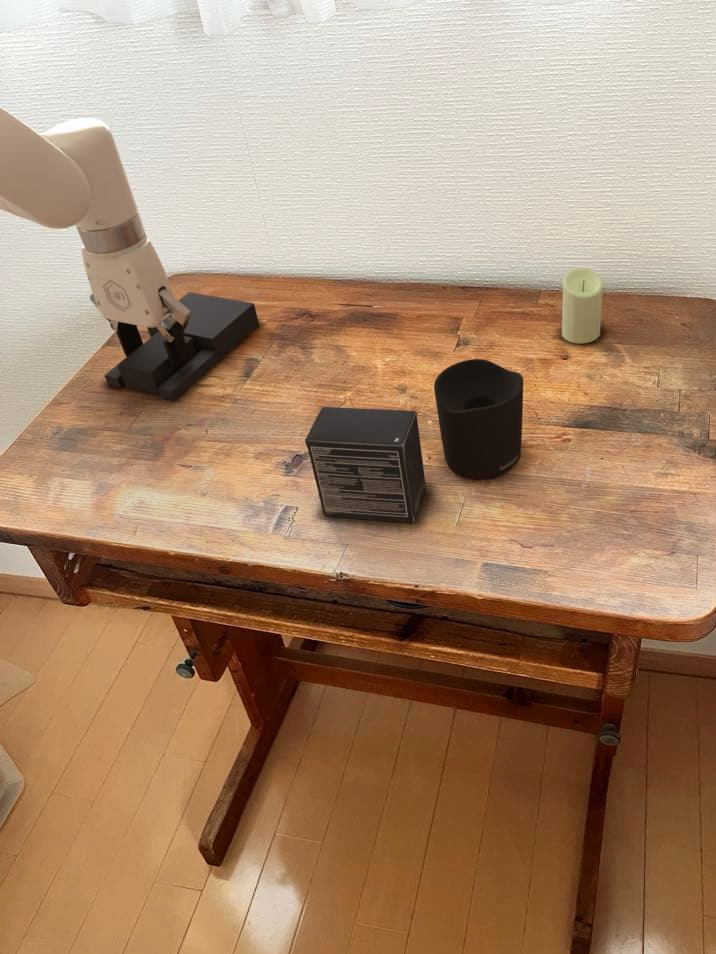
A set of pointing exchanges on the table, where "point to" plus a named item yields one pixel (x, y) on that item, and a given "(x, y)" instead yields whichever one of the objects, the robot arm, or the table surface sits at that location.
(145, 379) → the black block
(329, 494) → the small box
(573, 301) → the candle
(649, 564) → the table surface
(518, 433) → the pen holder
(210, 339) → the base pad
